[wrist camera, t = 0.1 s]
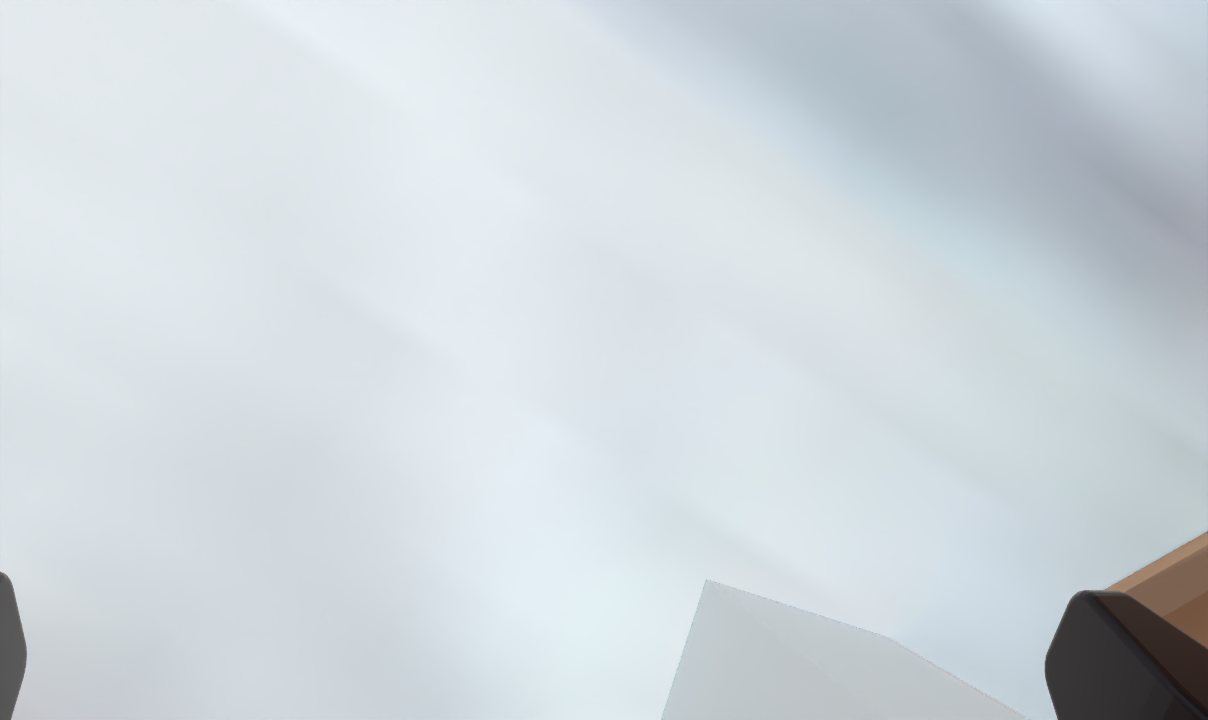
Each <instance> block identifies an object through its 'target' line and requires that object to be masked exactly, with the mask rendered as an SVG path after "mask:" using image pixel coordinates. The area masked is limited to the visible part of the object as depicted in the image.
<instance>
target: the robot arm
mask: <svg viewBox="0 0 1208 720" xmlns="http://www.w3.org/2000/svg"><path fill="white" fill-rule="evenodd" d="M26 658H27V650H26V642H25V638H24V633H23V629H22V624H21V620H20V616H19V611H18V607H17V603H16V598H15V594H14V589H13V586H12V583H11V581H10V579H9V578H8V576H7V575H6V574H4V573H2V572H0V720H11V718H12V714H13V711H14V708H15V704H16V701H17V697H18V694H19V691H20V687H21V684H22V681H23V677H24V673H25V668H26ZM1045 677H1046V682H1047V686H1048V690H1049V693H1050V696H1051V699H1052V702H1053V706H1054V709H1055V712H1056V715H1057V718H1058V720H1208V648H1207V647H1205V646H1204V645H1202V644H1201V643H1199V642H1198V641H1196V640H1195V639H1193V638H1192V637H1190V636H1189V635H1187V634H1186V633H1184V632H1183V631H1182V630H1180V629H1179V628H1177V627H1176V626H1174V625H1173V624H1171V623H1170V622H1168V621H1167V620H1165V619H1164V618H1162V617H1161V616H1159V615H1158V614H1156V613H1155V612H1154V611H1152V610H1151V609H1149V608H1148V607H1146V606H1145V605H1143V604H1142V603H1140V602H1139V601H1137V600H1136V599H1134V598H1133V597H1131V596H1130V595H1128V594H1126V593H1123V592H1120V591H1099V590H1084V591H1080V592H1078V593H1076V594H1075V595H1074V596H1073V597H1072V598H1071V599H1070V601H1069V603H1068V605H1067V608H1066V610H1065V612H1064V615H1063V617H1062V619H1061V621H1060V624H1059V626H1058V628H1057V631H1056V633H1055V635H1054V638H1053V640H1052V642H1051V645H1050V647H1049V649H1048V652H1047V655H1046V660H1045Z"/></svg>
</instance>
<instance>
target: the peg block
mask: <svg viewBox="0 0 1208 720" xmlns="http://www.w3.org/2000/svg"><path fill="white" fill-rule="evenodd" d="M661 720H1030V719H1028V718H1026V717H1025V716H1023V715H1021V714H1019V713H1018V712H1016V711H1014V710H1012V709H1011V708H1009V707H1007V706H1006V705H1004V704H1002V703H1000V702H999V701H997V700H995V699H994V698H992V697H990V696H988V695H987V694H985V693H983V692H981V691H980V690H978V689H976V688H975V687H973V686H971V685H969V684H968V683H966V682H964V681H962V680H961V679H959V678H957V677H956V676H954V675H952V674H950V673H949V672H947V671H945V670H944V669H942V668H940V667H938V666H937V665H935V664H933V663H931V662H930V661H928V660H926V659H925V658H923V657H921V656H919V655H918V654H916V653H914V652H913V651H911V650H909V649H907V648H906V647H904V646H902V645H900V644H899V643H897V642H895V641H894V640H892V639H890V638H888V637H885V636H882V635H879V634H876V633H873V632H869V631H866V630H863V629H860V628H857V627H854V626H851V625H848V624H845V623H841V622H838V621H835V620H832V619H829V618H826V617H823V616H820V615H816V614H813V613H810V612H807V611H804V610H801V609H798V608H795V607H791V606H788V605H785V604H782V603H779V602H776V601H773V600H770V599H766V598H763V597H760V596H757V595H754V594H751V593H748V592H745V591H741V590H738V589H735V588H732V587H729V586H726V585H723V584H720V583H717V582H713V581H710V580H707V579H706V582H705V585H704V588H703V591H702V594H701V597H700V600H699V603H698V607H697V610H696V613H695V616H694V619H693V622H692V625H691V628H690V631H689V635H688V638H687V641H686V644H685V647H684V650H683V653H682V656H681V659H680V663H679V666H678V669H677V672H676V675H675V678H674V681H673V684H672V687H671V691H670V694H669V697H668V700H667V703H666V706H665V709H664V712H663V715H662V719H661Z"/></svg>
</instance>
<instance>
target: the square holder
mask: <svg viewBox="0 0 1208 720" xmlns="http://www.w3.org/2000/svg"><path fill="white" fill-rule="evenodd" d="M1104 591H1120V592H1123V593H1126V594H1128V595H1130V596H1131V597H1133V598H1134V599H1136V600H1137V601H1139V602H1140V603H1142V604H1143V605H1145V606H1146V607H1148V608H1149V609H1151V610H1152V611H1154V612H1155V613H1156V614H1158V615H1159V616H1161V617H1162V618H1164V619H1165V620H1167V621H1168V622H1170V623H1171V624H1173V625H1174V626H1176V627H1177V628H1179V629H1180V630H1182V631H1183V632H1184V633H1186V634H1187V635H1189V636H1190V637H1192V638H1193V639H1195V640H1196V641H1198V642H1199V643H1201V644H1202V645H1204V646H1205V647H1207V648H1208V532H1206V533H1204V534H1203V535H1201V536H1199V537H1197V538H1195V539H1194V540H1192V541H1190V542H1188V543H1187V544H1185V545H1183V546H1181V547H1180V548H1178V549H1176V550H1174V551H1173V552H1171V553H1169V554H1167V555H1165V556H1164V557H1162V558H1160V559H1158V560H1157V561H1155V562H1153V563H1151V564H1150V565H1148V566H1146V567H1144V568H1143V569H1141V570H1139V571H1137V572H1135V573H1134V574H1132V575H1130V576H1128V577H1127V578H1125V579H1123V580H1121V581H1120V582H1118V583H1116V584H1114V585H1112V586H1111V587H1109V588H1107V589H1105V590H1104Z"/></svg>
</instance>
